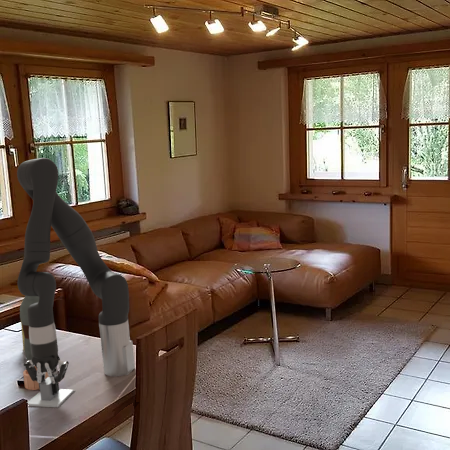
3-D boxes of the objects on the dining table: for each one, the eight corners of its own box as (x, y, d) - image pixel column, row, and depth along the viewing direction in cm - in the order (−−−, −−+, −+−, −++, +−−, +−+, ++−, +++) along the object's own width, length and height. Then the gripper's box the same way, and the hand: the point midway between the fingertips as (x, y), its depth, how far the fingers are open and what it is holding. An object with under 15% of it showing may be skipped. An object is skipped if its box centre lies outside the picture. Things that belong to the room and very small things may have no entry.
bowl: (56, 380, 188) (54, 365, 187) (43, 391, 180) (41, 376, 180) (33, 379, 190) (31, 364, 189) (20, 390, 182) (18, 375, 181)
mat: (76, 392, 179) (75, 390, 179) (58, 409, 168) (58, 408, 168) (43, 390, 181) (42, 389, 181) (23, 407, 170) (23, 406, 170)
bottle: (51, 362, 203) (41, 278, 198) (23, 366, 201) (13, 281, 196) (53, 352, 212) (44, 271, 207) (27, 355, 210) (17, 274, 205)
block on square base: (73, 391, 178) (71, 374, 177) (57, 407, 169) (55, 389, 168) (43, 390, 180) (41, 373, 179) (26, 405, 171) (24, 387, 170)
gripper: (71, 334, 173) (77, 389, 176) (28, 333, 176) (34, 387, 179) (59, 343, 166) (65, 400, 169) (14, 342, 169) (21, 398, 172)
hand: (49, 393), depth 174 cm, fingers closed on block on square base, 3 cm apart
